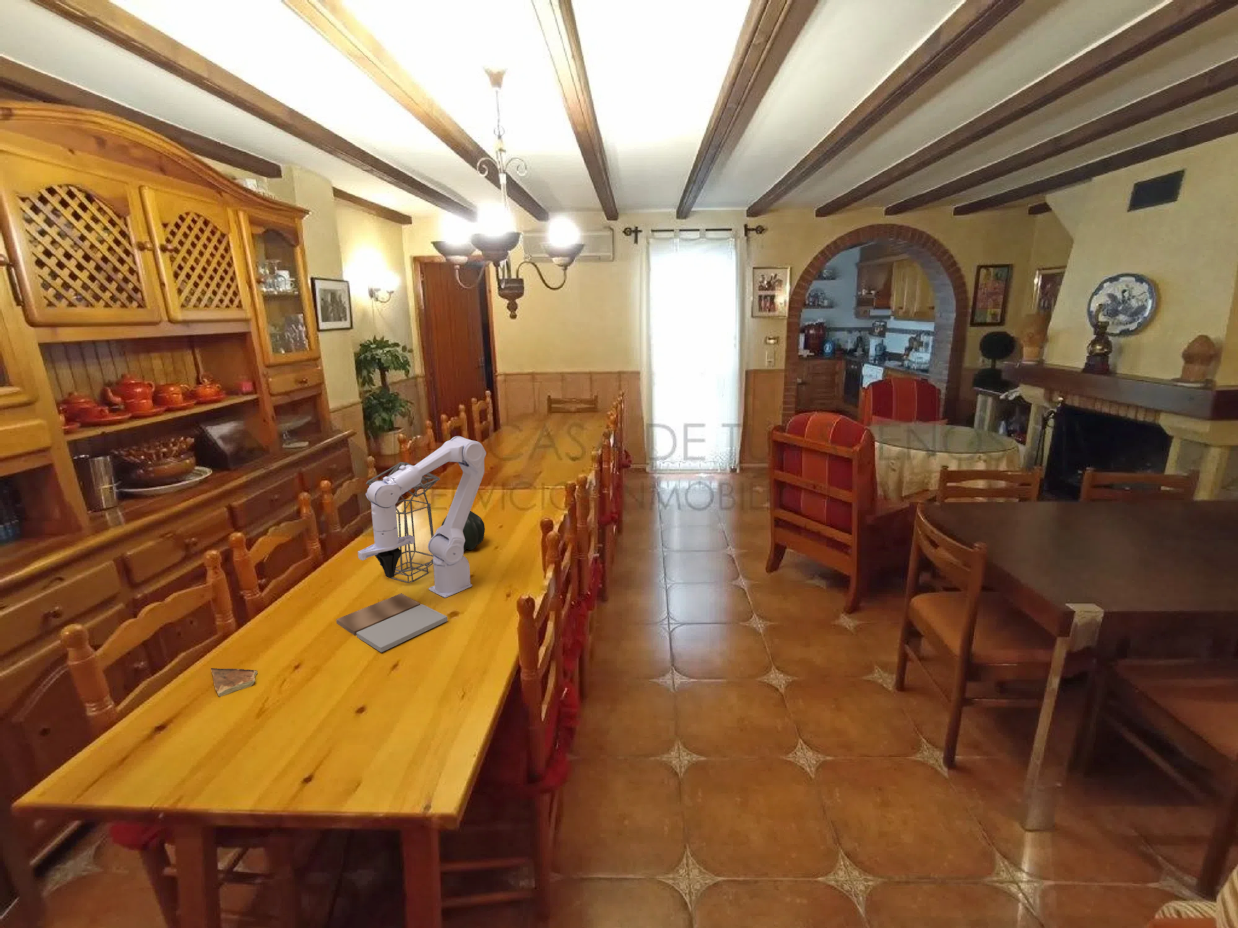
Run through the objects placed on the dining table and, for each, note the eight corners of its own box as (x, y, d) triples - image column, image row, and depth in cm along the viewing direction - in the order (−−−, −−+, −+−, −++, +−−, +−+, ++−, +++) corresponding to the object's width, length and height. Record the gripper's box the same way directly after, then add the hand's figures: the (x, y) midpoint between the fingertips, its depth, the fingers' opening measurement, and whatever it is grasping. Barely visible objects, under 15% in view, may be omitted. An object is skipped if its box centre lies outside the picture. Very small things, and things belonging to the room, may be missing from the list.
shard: (211, 674, 120) (210, 666, 120) (253, 661, 125) (252, 654, 125) (217, 699, 112) (215, 692, 112) (261, 685, 117) (260, 677, 117)
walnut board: (401, 596, 154) (401, 593, 154) (420, 607, 149) (420, 603, 148) (336, 623, 140) (336, 619, 140) (354, 635, 135) (354, 631, 134)
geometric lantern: (370, 579, 164) (360, 464, 156) (412, 561, 178) (404, 454, 170) (408, 591, 157) (399, 471, 149) (449, 571, 170) (442, 460, 163)
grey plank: (422, 608, 148) (422, 603, 148) (447, 620, 141) (447, 616, 141) (356, 636, 134) (356, 632, 134) (381, 652, 127) (380, 647, 127)
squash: (498, 525, 194) (468, 493, 191) (484, 543, 179) (451, 509, 177) (470, 548, 197) (441, 517, 195) (454, 567, 183) (422, 534, 181)
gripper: (402, 516, 150) (406, 563, 153) (349, 531, 139) (355, 581, 142) (417, 522, 146) (421, 570, 149) (364, 538, 134) (369, 589, 138)
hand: (389, 576), depth 145 cm, fingers closed
